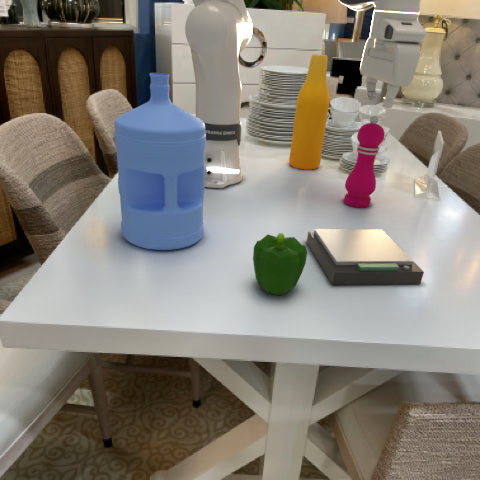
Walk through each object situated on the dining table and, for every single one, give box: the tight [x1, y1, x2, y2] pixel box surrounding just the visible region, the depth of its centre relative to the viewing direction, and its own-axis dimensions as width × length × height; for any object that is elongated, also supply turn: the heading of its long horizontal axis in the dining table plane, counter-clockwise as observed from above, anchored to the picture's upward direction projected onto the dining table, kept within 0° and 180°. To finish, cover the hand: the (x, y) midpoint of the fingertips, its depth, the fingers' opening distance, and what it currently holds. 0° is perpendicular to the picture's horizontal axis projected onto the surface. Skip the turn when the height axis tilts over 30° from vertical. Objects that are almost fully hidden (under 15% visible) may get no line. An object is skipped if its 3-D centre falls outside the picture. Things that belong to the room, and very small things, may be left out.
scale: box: [306, 228, 425, 286], centre depth 87 cm, size 16×17×3 cm
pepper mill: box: [343, 115, 386, 208], centre depth 110 cm, size 7×7×20 cm
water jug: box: [114, 72, 206, 251], centre depth 84 cm, size 16×16×28 cm
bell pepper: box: [252, 232, 308, 296], centre depth 75 cm, size 8×8×10 cm
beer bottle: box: [288, 53, 331, 171], centre depth 133 cm, size 9×9×29 cm
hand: (378, 103), depth 103 cm, fingers open, 8 cm apart
